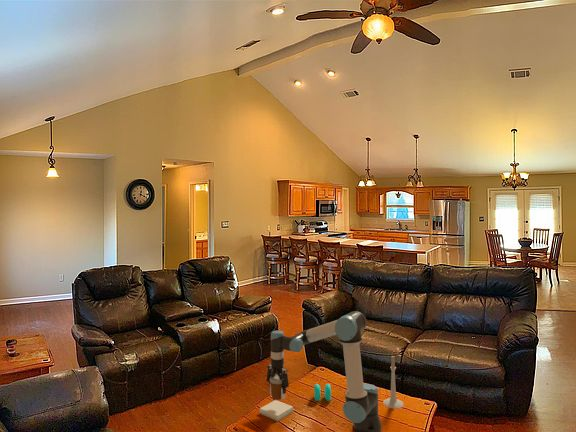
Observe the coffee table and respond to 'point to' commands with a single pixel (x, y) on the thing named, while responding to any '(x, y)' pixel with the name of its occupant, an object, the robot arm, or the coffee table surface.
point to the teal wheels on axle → (318, 392)
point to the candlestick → (393, 390)
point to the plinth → (276, 410)
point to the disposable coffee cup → (276, 387)
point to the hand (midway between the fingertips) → (277, 396)
